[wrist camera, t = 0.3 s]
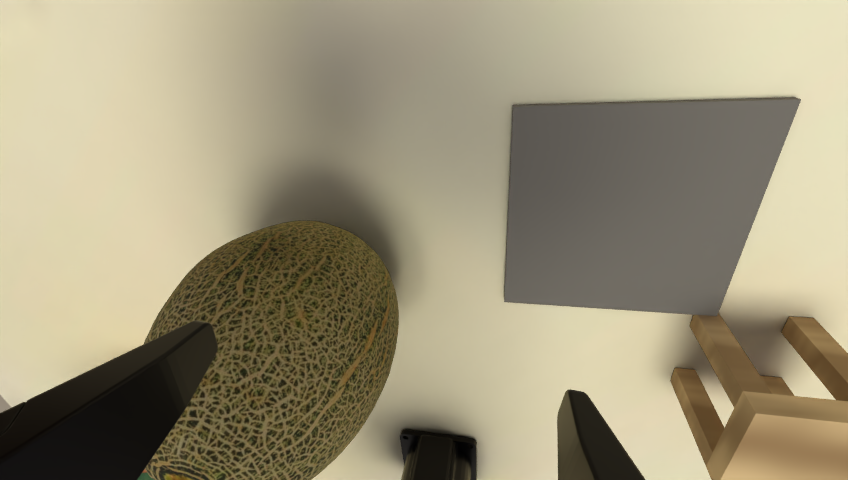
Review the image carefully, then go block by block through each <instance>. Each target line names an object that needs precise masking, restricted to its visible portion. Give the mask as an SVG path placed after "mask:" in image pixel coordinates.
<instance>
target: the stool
mask: <svg viewBox="0 0 848 480" xmlns="http://www.w3.org/2000/svg"><path fill="white" fill-rule="evenodd" d="M690 328H691V329H692V331H693V333H694V335H695V337H696V339H697V340H698V342H699V344H700V346H701V348H702V350H703V351H704V353H705V355H706V357H707V359H708V360H709V362H710V364H711V366H712V368H713V370H714V371H715V373H716V375H717V377H718V379H719V381H720V382H721V384H722V386H723V388H724V390H725V392H726V393H727V395H728V397H729V399H730V401H731V403H732V404H733V406H734V410H733V412H732V414H731V416H730V418H729V420H728V422H727V424H726V426H725V428H724V426H723V424H722V422H721V420H720V418H719V416H718V414H717V412H716V410H715V408H714V406H713V404H712V402H711V400H710V398H709V396H708V394H707V392H706V390H705V388H704V386H703V384H702V382H701V380H700V378H699V376H698V374H697V372H696V370H692V369H681V368H675V369H674V372H673V375H672V378H671V380H670V381H671V383H672V386H673V388H674V391H675V393H676V395H677V398H678V400H679V403H680V405H681V407H682V410H683V412H684V415H685V417H686V419H687V422H688V424H689V427H690V429H691V431H692V434H693V436H694V439H695V441H696V443H697V446H698V448H699V451H700V453H701V455H702V458H703V460H704V463H705V465H706V467H707V470H708V472H709V475H710V477H711V479H712V480H848V353H847V352H846V351H845V350H844V349H843V348H842V347H841V346H840V345H839V344H838V343H837V342H836V341H835V340H834V338H833V337H832V336H831V335H830V334H829V333H828V332H827V331H826V330H825V329H824V328H823V327H822V326H821V325H820V324H819V323H818V322H817V321H816V320H815V319H814V318H805V317H789V318H788V320H787V322H786V324H785V326H784V328H783V330H782V332H781V333H782V334H783V335H784V336H785V338H786V339H787V340H788V341H789V343H790V344H791V345H792V346H793V348H794V349H795V350H796V351H797V352H798V354H799V355H800V356H801V357H802V359H803V360H804V361H805V362H806V363H807V365H808V366H809V367H810V368H811V370H812V371H813V372H814V373H815V375H816V376H817V377H818V378H819V379H820V381H821V382H822V383H823V384H824V386H825V387H826V388H827V389H828V391H829V392H830V393H831V394H832V395H833V397H834V398H835V399H836V400H829V399H818V398H808V397H798V396H794V394H793V393H792V392H791V390H790V389H789V387H788V386H787V385H786V383H785V382H784V380H783V379H782V378H780V377H769V376H760V375H759V373H758V372H757V370H756V369H755V367H754V366H753V364H752V363H751V361H750V360H749V358H748V357H747V355H746V354H745V352H744V351H743V349H742V348H741V346H740V345H739V343H738V342H737V340H736V339H735V337H734V336H733V334H732V332H731V331H730V329H729V328H728V326H727V325H726V323H725V322H724V320H723V319H722V317H721V316H720V314H719V313H718V315H717V316H707V315H693V317H692V320H691V323H690Z"/></svg>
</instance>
